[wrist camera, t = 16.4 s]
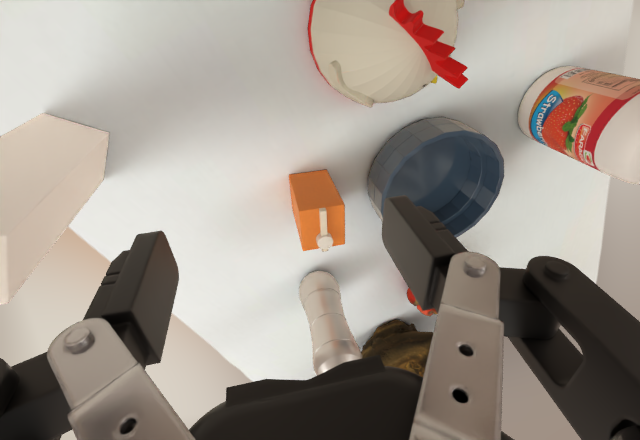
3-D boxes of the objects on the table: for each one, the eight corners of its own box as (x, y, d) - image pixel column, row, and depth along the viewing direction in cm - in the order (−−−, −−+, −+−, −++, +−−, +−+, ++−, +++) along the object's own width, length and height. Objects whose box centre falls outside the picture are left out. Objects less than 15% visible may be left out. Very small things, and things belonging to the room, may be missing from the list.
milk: (110, 132, 35) (-25, 270, 17) (104, 180, 38) (-19, 344, 20) (40, 111, 33) (-201, 246, 15) (39, 164, 35) (-167, 333, 17)
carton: (288, 174, 42) (300, 216, 34) (326, 169, 42) (347, 209, 34) (292, 210, 45) (304, 256, 37) (328, 205, 45) (347, 249, 37)
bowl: (368, 123, 40) (385, 139, 35) (488, 109, 42) (520, 123, 37) (364, 229, 49) (378, 254, 44) (463, 213, 51) (486, 235, 46)
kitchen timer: (367, 122, 40) (423, 175, 28) (280, 36, 33) (303, 56, 21) (457, 24, 36) (569, 36, 24) (379, -97, 29) (480, -169, 17)
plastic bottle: (334, 262, 52) (378, 382, 35) (336, 291, 55) (376, 412, 39) (294, 269, 51) (319, 396, 34) (299, 299, 55) (323, 425, 38)
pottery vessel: (344, 375, 70) (375, 486, 54) (320, 353, 64) (347, 471, 48) (449, 322, 67) (515, 423, 51) (435, 293, 61) (505, 398, 45)
